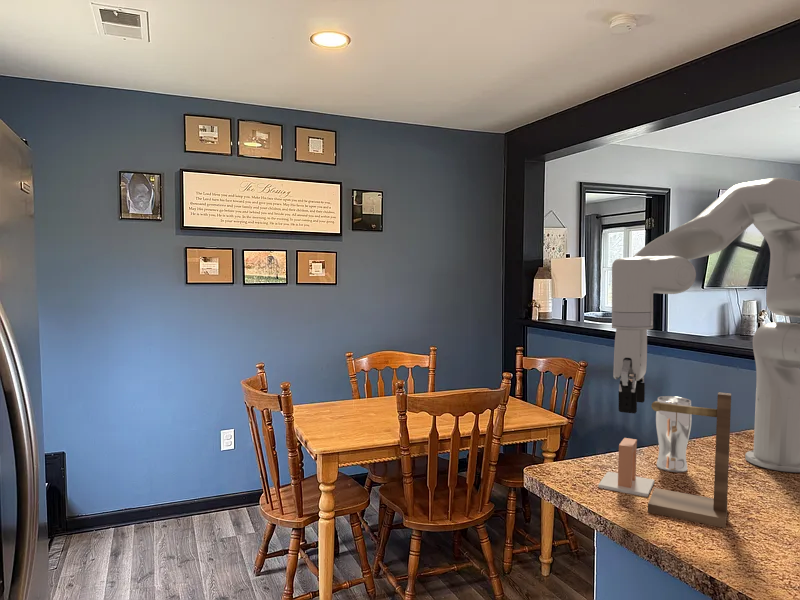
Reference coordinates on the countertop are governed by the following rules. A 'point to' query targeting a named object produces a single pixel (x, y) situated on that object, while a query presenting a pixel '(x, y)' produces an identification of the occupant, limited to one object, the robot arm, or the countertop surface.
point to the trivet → (638, 487)
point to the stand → (715, 508)
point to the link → (627, 462)
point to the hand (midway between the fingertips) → (631, 406)
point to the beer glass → (673, 435)
